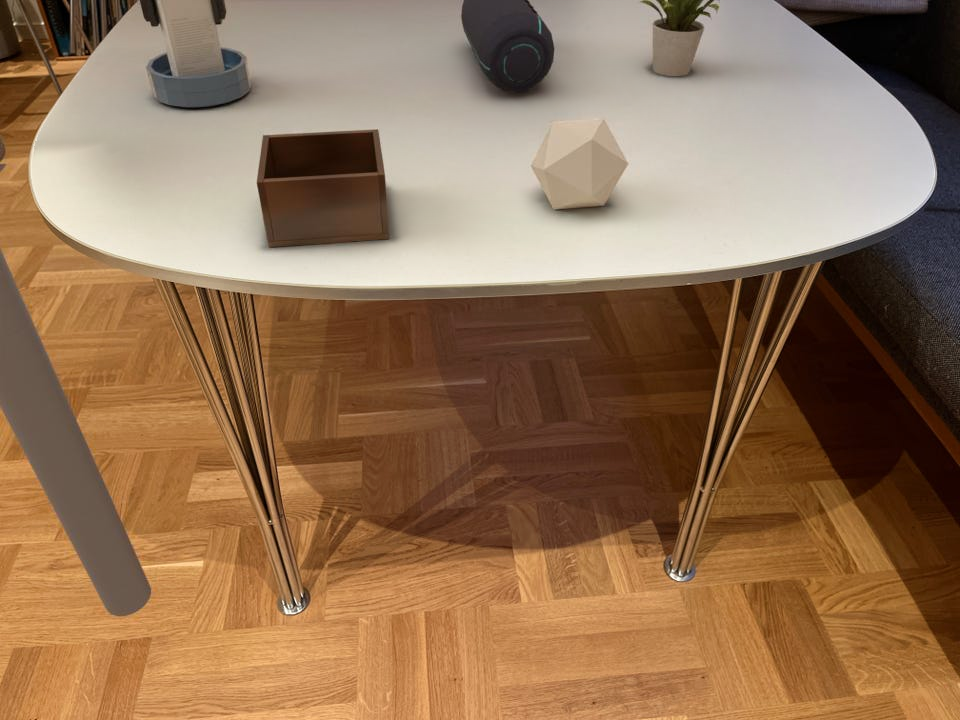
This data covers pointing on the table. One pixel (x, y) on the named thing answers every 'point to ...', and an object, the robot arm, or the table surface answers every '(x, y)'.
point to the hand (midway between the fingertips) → (187, 23)
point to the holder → (322, 188)
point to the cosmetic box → (190, 37)
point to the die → (578, 163)
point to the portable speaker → (508, 42)
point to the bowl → (200, 82)
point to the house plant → (677, 35)
